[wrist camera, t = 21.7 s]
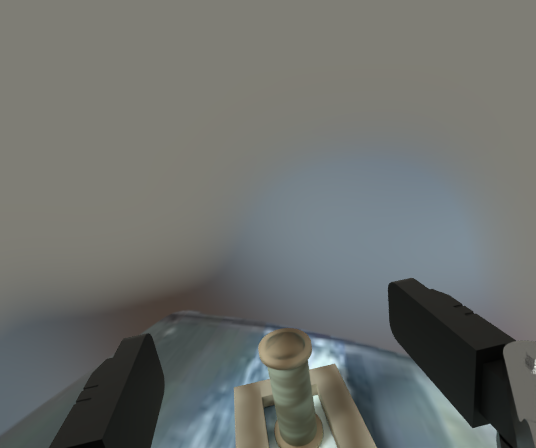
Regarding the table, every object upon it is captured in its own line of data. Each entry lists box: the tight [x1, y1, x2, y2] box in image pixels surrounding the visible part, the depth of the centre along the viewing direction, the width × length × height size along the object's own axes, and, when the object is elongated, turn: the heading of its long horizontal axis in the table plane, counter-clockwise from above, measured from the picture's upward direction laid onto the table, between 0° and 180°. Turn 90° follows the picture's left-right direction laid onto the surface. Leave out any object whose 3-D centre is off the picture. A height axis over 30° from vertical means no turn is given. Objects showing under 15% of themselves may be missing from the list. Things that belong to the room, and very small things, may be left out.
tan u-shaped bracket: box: [234, 364, 377, 448], centre depth 41 cm, size 16×14×2 cm
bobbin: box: [258, 328, 323, 448], centre depth 38 cm, size 6×6×14 cm
